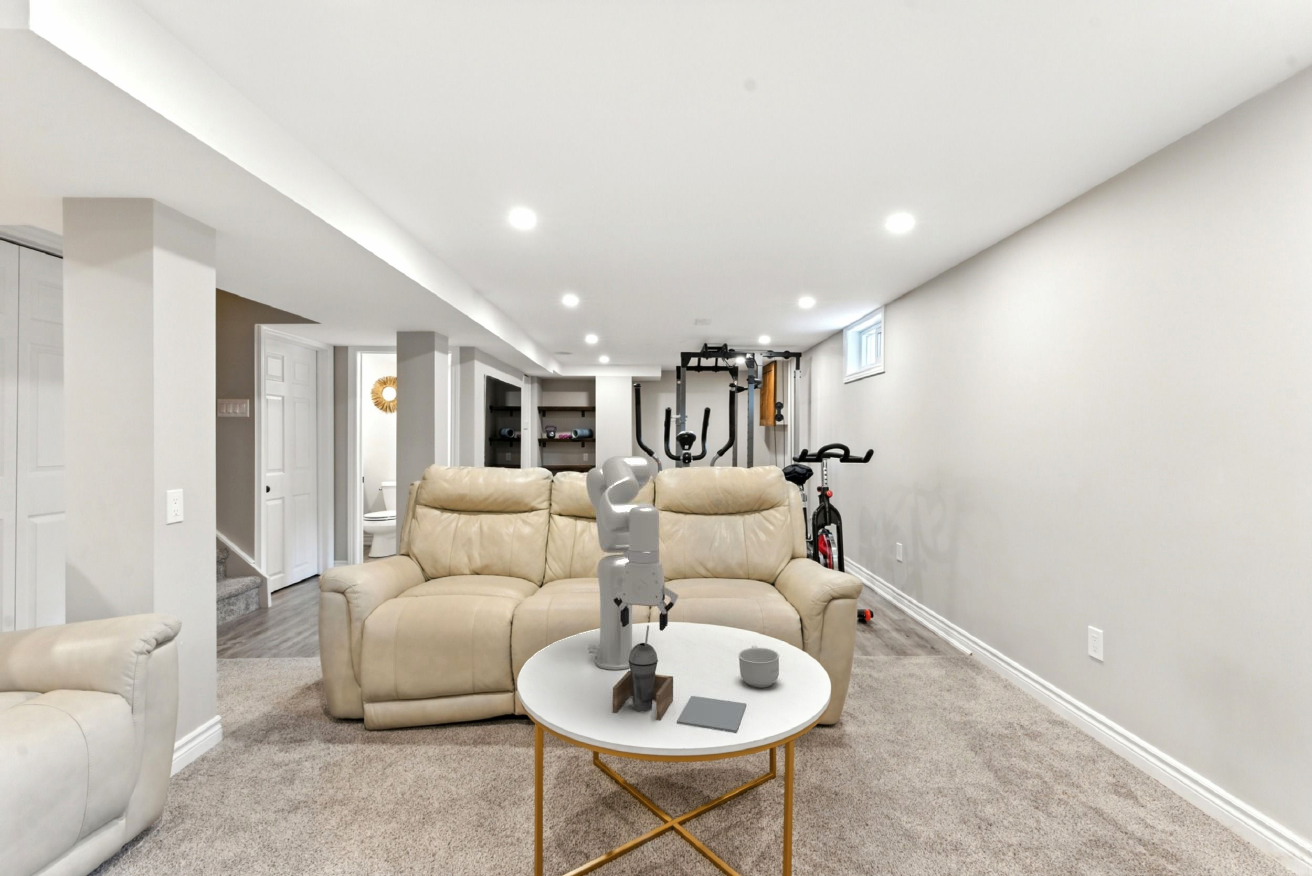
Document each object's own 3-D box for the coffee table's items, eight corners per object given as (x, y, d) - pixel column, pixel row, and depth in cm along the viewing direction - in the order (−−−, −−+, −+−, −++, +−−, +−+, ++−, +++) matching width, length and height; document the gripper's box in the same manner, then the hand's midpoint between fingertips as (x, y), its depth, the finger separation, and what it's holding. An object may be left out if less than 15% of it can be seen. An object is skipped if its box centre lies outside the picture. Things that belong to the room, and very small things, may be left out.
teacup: (779, 693, 148) (779, 662, 148) (737, 689, 150) (737, 659, 150) (778, 672, 162) (778, 644, 162) (740, 669, 164) (740, 641, 164)
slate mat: (676, 723, 132) (676, 720, 132) (691, 697, 145) (691, 695, 145) (736, 732, 128) (736, 730, 128) (746, 705, 141) (746, 703, 141)
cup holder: (612, 712, 137) (612, 687, 137) (628, 693, 147) (628, 670, 147) (660, 720, 133) (660, 694, 133) (673, 700, 143) (673, 676, 144)
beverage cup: (627, 701, 143) (628, 621, 143) (656, 700, 144) (656, 620, 144) (628, 715, 136) (629, 630, 136) (659, 713, 136) (659, 630, 136)
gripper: (605, 557, 139) (605, 628, 138) (673, 561, 134) (673, 635, 133) (616, 552, 146) (616, 620, 146) (681, 556, 141) (681, 626, 140)
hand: (643, 627), depth 139 cm, fingers open, 9 cm apart
